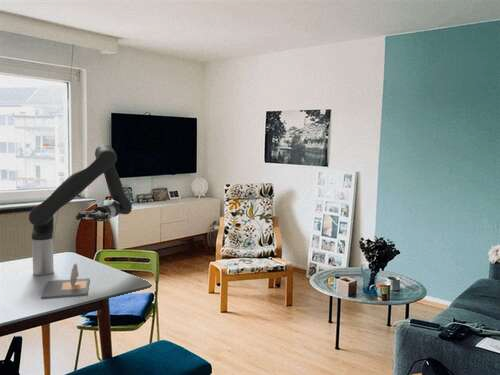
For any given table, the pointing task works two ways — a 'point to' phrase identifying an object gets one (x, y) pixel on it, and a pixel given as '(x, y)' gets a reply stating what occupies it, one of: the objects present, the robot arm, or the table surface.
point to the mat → (65, 288)
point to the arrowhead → (74, 275)
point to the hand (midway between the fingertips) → (85, 218)
